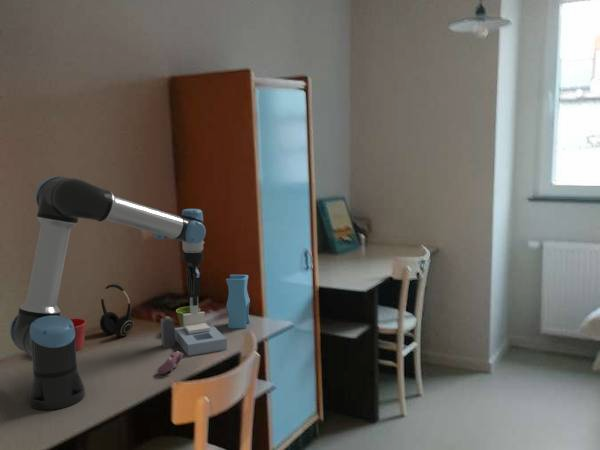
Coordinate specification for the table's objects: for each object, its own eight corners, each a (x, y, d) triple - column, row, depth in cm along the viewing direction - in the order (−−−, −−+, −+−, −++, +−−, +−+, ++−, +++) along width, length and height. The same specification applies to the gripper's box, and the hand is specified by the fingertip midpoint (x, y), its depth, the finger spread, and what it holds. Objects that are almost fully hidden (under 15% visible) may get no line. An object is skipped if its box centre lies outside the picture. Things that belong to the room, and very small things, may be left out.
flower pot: (62, 356, 202) (60, 329, 201) (51, 348, 210) (49, 322, 209) (92, 349, 209) (90, 323, 207) (80, 341, 217) (79, 316, 216)
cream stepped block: (188, 334, 211) (188, 320, 211) (183, 327, 218) (182, 314, 218) (210, 330, 215) (209, 317, 214) (204, 324, 222) (203, 311, 221)
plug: (164, 348, 209) (162, 319, 207) (161, 345, 212) (160, 316, 211) (175, 346, 211) (174, 317, 209) (172, 343, 214) (171, 314, 213)
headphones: (111, 328, 231) (108, 280, 228) (139, 334, 224) (137, 284, 221) (94, 335, 224) (91, 284, 221) (123, 341, 217) (120, 289, 214)
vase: (231, 321, 239) (230, 274, 236) (250, 322, 238) (249, 274, 235) (227, 328, 231) (225, 279, 228) (246, 328, 230) (245, 279, 227)
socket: (188, 355, 202) (188, 344, 201) (174, 338, 219) (174, 328, 219) (226, 349, 208) (226, 338, 207) (210, 332, 225) (210, 323, 225)
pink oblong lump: (167, 380, 185) (176, 362, 184) (155, 373, 186) (163, 355, 184) (179, 368, 195) (187, 351, 193) (168, 361, 195) (176, 344, 194)
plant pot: (206, 329, 229) (205, 308, 228) (189, 336, 221) (188, 314, 220) (188, 325, 234) (187, 305, 233) (171, 332, 226) (170, 310, 225)
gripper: (208, 253, 209) (209, 316, 212) (198, 247, 220) (199, 307, 224) (187, 254, 206) (189, 319, 209) (178, 248, 217) (180, 310, 220)
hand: (194, 313), depth 216 cm, fingers closed
